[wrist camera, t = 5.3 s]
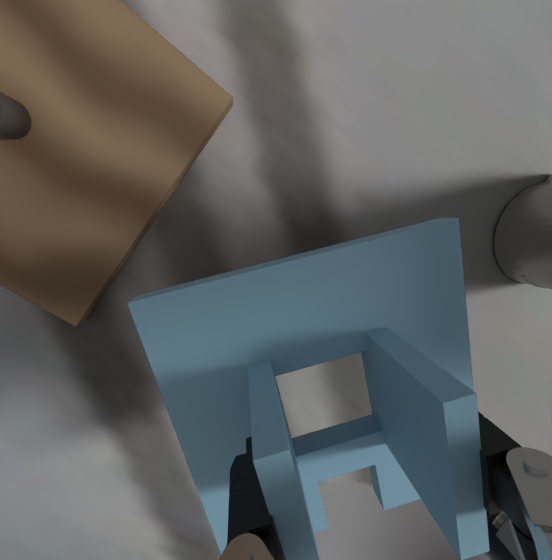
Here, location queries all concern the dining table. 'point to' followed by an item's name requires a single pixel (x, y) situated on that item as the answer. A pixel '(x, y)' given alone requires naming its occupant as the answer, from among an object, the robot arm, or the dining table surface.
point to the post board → (89, 143)
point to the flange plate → (317, 349)
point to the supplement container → (501, 538)
